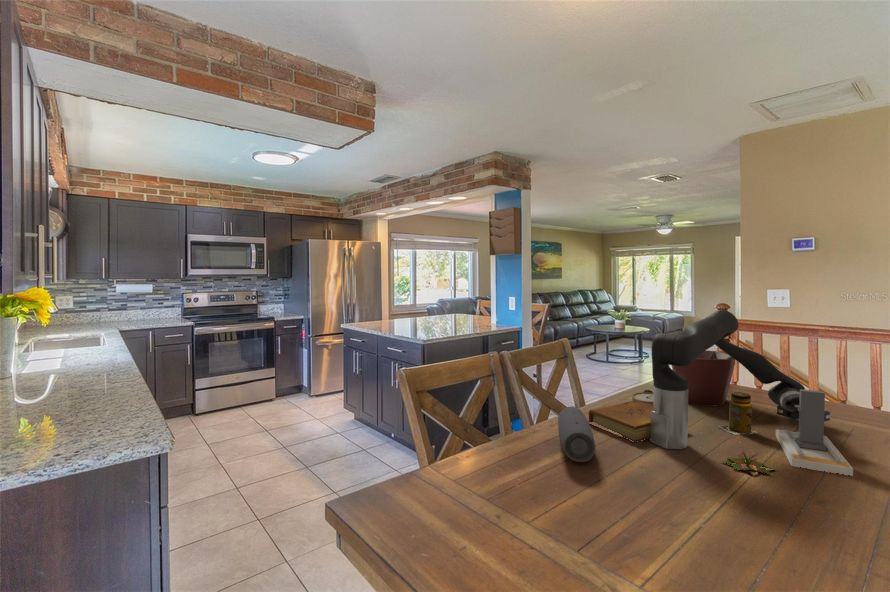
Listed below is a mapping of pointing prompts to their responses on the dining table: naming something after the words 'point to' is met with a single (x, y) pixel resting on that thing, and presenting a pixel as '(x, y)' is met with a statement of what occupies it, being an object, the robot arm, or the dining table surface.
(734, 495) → the dining table surface
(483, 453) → the dining table surface
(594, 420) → the diary
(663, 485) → the dining table surface
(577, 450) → the bluetooth speaker
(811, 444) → the switch lever
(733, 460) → the succulent plant
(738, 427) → the condiment
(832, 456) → the switch board
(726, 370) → the bucket
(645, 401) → the alarm clock
